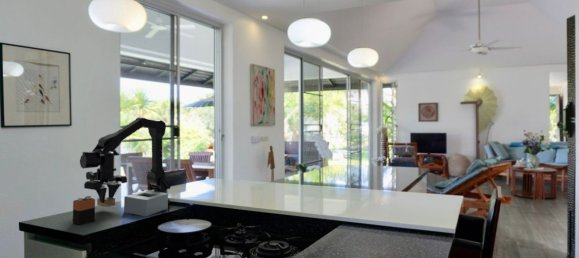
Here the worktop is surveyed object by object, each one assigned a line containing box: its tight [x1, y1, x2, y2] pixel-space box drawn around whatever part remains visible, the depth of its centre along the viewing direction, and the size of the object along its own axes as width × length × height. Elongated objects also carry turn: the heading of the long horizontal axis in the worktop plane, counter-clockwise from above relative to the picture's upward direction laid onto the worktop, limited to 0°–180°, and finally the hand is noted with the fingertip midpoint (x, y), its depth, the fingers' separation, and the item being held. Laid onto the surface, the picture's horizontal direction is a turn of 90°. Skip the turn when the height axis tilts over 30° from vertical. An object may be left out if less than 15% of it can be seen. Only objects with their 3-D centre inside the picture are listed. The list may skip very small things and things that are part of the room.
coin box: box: [123, 189, 169, 217], centre depth 173 cm, size 14×12×7 cm
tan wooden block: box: [96, 196, 116, 208], centre depth 169 cm, size 4×6×3 cm, turn 71°
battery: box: [72, 195, 96, 225], centre depth 153 cm, size 4×7×10 cm, turn 154°
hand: (106, 201), depth 169 cm, fingers closed on tan wooden block, 4 cm apart
